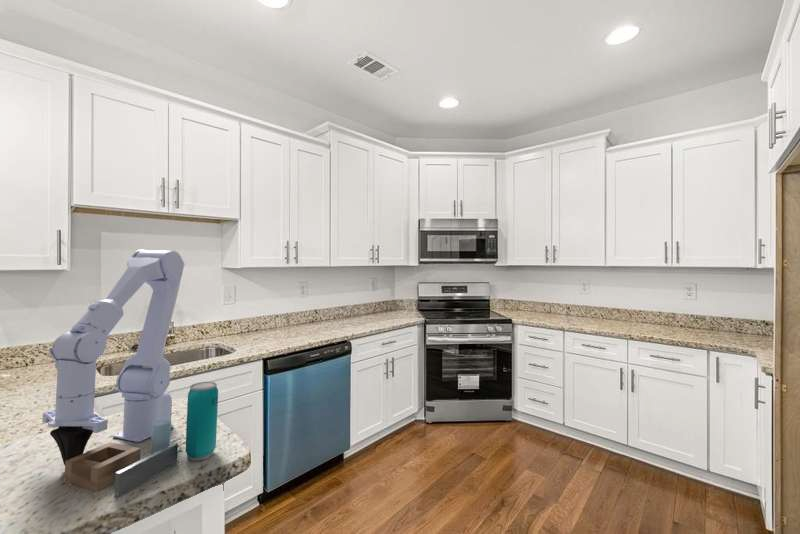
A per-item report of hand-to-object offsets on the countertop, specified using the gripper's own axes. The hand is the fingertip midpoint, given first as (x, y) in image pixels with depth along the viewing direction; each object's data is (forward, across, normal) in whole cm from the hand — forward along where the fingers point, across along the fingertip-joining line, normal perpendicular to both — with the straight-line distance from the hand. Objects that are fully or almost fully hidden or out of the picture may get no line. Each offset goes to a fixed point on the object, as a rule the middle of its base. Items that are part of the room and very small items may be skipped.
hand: (72, 463), depth 72 cm
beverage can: (+1, +19, +12) cm, 23 cm away
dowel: (+1, +12, +9) cm, 15 cm away
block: (+1, +8, 0) cm, 8 cm away
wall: (+1, +17, +2) cm, 17 cm away
